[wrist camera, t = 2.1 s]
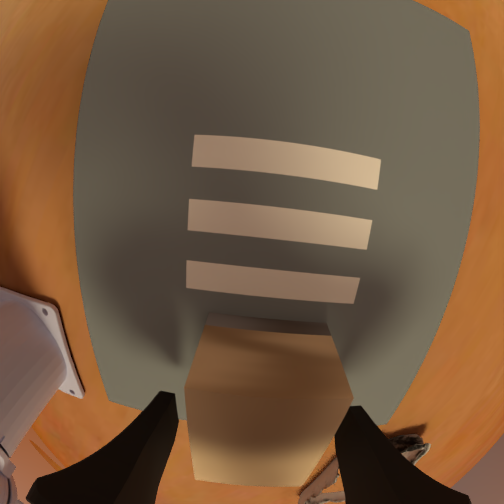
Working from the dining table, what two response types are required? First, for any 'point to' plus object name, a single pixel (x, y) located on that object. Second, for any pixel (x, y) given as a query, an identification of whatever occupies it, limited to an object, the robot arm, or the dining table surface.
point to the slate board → (273, 182)
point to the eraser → (263, 400)
